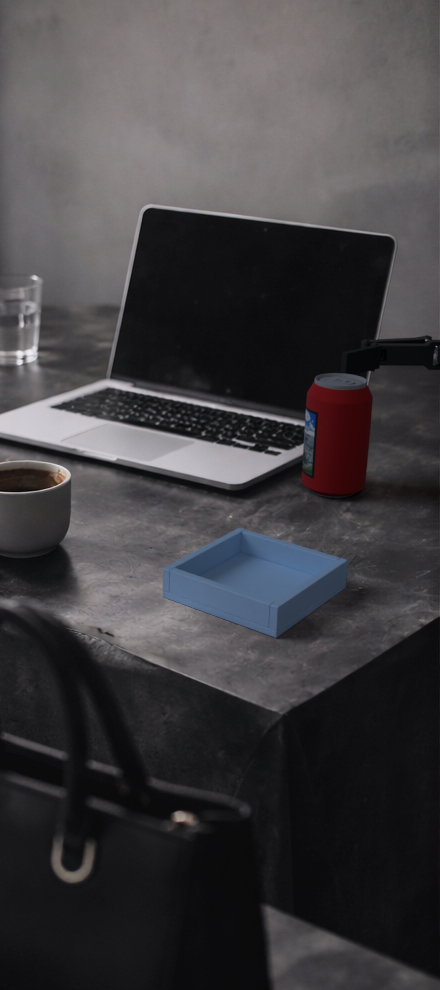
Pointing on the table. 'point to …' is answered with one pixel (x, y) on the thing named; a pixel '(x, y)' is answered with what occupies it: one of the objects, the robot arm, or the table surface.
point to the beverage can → (337, 435)
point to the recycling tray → (255, 580)
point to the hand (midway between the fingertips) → (393, 376)
